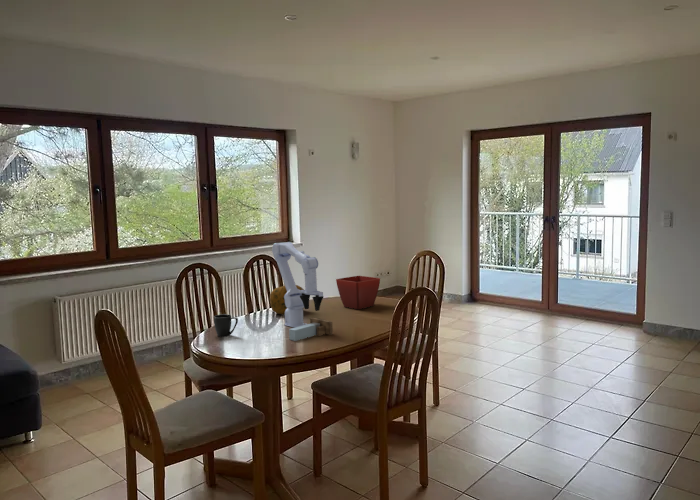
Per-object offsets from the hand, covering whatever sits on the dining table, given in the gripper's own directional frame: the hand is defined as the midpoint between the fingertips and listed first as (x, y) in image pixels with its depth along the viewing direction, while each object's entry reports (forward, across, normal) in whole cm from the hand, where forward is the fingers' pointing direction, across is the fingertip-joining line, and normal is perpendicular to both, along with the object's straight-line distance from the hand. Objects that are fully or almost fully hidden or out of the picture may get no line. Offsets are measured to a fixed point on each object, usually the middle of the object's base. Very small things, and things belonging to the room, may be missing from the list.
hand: (312, 309), depth 266 cm
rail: (+11, +5, -10) cm, 15 cm away
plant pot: (+10, -20, +55) cm, 59 cm away
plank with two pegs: (+10, +5, -1) cm, 12 cm away
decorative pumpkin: (+10, -41, +19) cm, 46 cm away
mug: (+10, -27, -32) cm, 43 cm away
